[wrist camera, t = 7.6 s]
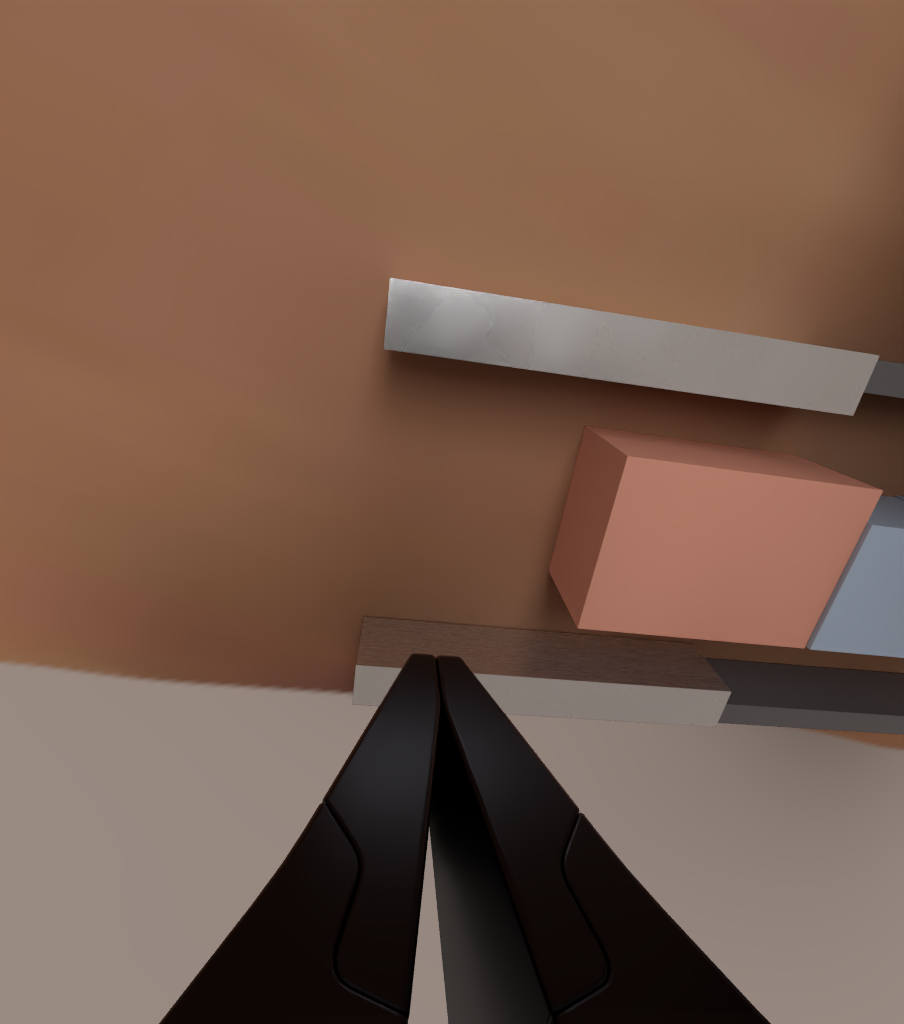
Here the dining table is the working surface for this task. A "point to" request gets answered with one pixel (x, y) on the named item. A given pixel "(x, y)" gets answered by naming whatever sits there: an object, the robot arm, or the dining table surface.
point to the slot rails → (611, 357)
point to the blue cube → (869, 591)
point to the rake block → (703, 539)
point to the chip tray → (818, 668)
